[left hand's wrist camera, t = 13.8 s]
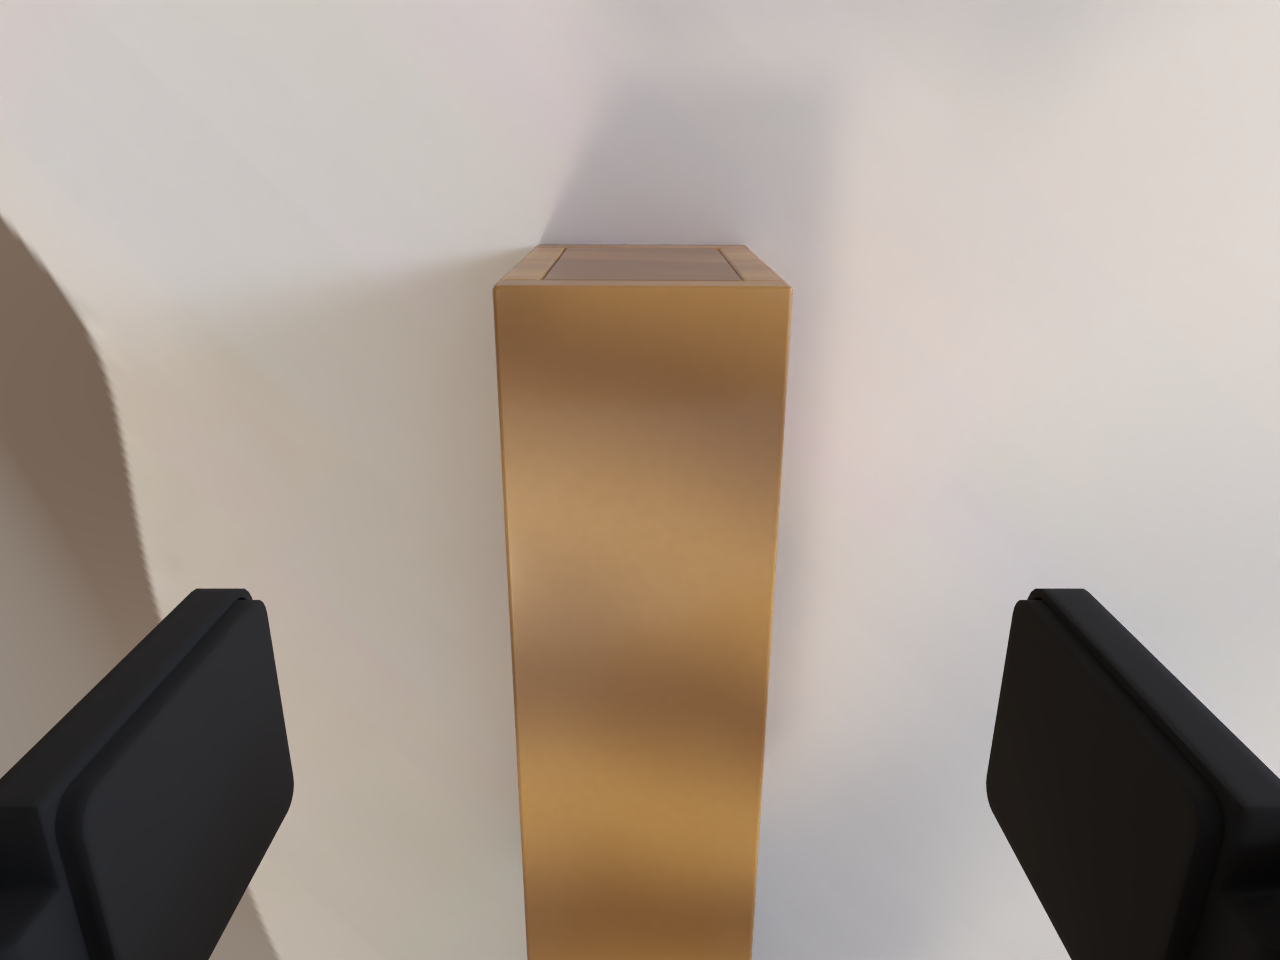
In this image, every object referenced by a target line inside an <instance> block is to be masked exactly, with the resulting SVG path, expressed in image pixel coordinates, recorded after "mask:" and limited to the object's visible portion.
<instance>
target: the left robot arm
mask: <svg viewBox="0 0 1280 960" xmlns="http://www.w3.org/2000/svg"><path fill="white" fill-rule="evenodd" d="M293 788H294V780H293V772H292V766H291V760H290V753H289V747H288V741H287V735H286V728H285V722H284V716H283V710H282V703H281V697H280V691H279V685H278V678H277V672H276V666H275V660H274V653H273V647H272V641H271V635H270V628H269V622H268V616H267V611H266V607H265V605H264V603H263V602H262V601H261V600H252V597H251V595H250V593H249V592H248V591H247V590H246V589H195V590H194V591H192V592H191V593H190V594H189V595H188V596H187V597H186V598H185V599H184V600H183V601H182V602H181V603H180V604H179V605H178V606H177V607H176V608H175V609H174V610H173V611H172V612H171V613H170V614H169V615H167V616H166V617H165V618H164V619H163V620H162V621H161V622H160V623H159V624H158V625H157V626H156V627H155V628H154V629H153V630H152V631H151V632H150V633H149V634H148V635H147V636H146V637H145V638H144V639H143V640H142V641H141V642H140V643H139V644H138V645H137V646H136V647H135V648H134V649H133V650H132V651H131V652H130V653H129V654H128V655H127V656H126V657H125V658H124V659H123V660H122V661H120V662H119V663H118V664H117V665H116V666H115V667H114V668H113V669H112V670H111V671H110V672H109V673H108V674H107V675H106V676H105V677H104V678H103V679H102V680H101V681H100V682H99V683H98V684H97V685H96V686H95V687H94V688H93V689H92V690H91V691H90V692H89V693H88V694H87V695H86V696H85V697H84V698H83V699H82V700H81V701H80V702H79V703H78V704H77V705H76V706H74V707H73V708H72V709H71V710H70V711H69V712H68V713H67V714H66V715H65V716H64V717H63V718H62V719H61V720H60V721H59V722H58V723H57V724H56V725H55V726H54V727H53V728H52V729H51V730H50V731H49V732H48V733H47V734H46V735H45V736H44V737H43V738H42V739H41V740H40V741H39V742H38V743H37V744H36V745H35V746H34V747H33V748H32V749H31V750H29V751H28V752H27V753H26V754H25V755H24V756H23V757H22V758H21V759H20V760H19V761H18V762H17V763H16V764H15V765H14V766H13V767H12V768H11V769H10V770H9V771H8V772H7V773H6V774H5V775H4V776H3V777H2V778H1V779H0V960H208V959H209V958H210V956H211V954H212V952H213V950H214V948H215V946H216V945H217V943H218V941H219V939H220V937H221V935H222V933H223V931H224V930H225V928H226V926H227V924H228V922H229V920H230V918H231V916H232V915H233V913H234V911H235V909H236V907H237V905H238V903H239V901H240V900H241V898H242V896H243V894H244V892H245V890H246V888H247V887H248V885H249V883H250V881H251V879H252V877H253V875H254V874H255V872H256V870H257V868H258V866H259V864H260V862H261V860H262V859H263V857H264V855H265V853H266V851H267V849H268V847H269V845H270V844H271V842H272V840H273V838H274V836H275V834H276V832H277V831H278V829H279V827H280V825H281V823H282V821H283V819H284V817H285V816H286V814H287V812H288V810H289V807H290V805H291V801H292V796H293ZM986 788H987V796H988V801H989V805H990V807H991V810H992V812H993V814H994V816H995V817H996V819H997V821H998V823H999V825H1000V827H1001V829H1002V831H1003V832H1004V834H1005V836H1006V838H1007V840H1008V842H1009V844H1010V845H1011V847H1012V849H1013V851H1014V853H1015V855H1016V857H1017V859H1018V860H1019V862H1020V864H1021V866H1022V868H1023V870H1024V872H1025V874H1026V875H1027V877H1028V879H1029V881H1030V883H1031V885H1032V887H1033V888H1034V890H1035V892H1036V894H1037V896H1038V898H1039V900H1040V902H1041V903H1042V905H1043V907H1044V909H1045V911H1046V913H1047V915H1048V916H1049V918H1050V920H1051V922H1052V924H1053V926H1054V928H1055V930H1056V931H1057V933H1058V935H1059V937H1060V939H1061V941H1062V943H1063V945H1064V946H1065V948H1066V950H1067V952H1068V954H1069V956H1070V958H1071V959H1072V960H1280V779H1279V778H1278V777H1277V776H1276V775H1275V774H1274V773H1273V772H1272V771H1271V770H1270V769H1269V768H1268V767H1267V766H1266V765H1265V764H1264V763H1263V762H1262V761H1261V760H1260V759H1259V758H1258V757H1257V756H1256V755H1255V754H1254V753H1253V752H1252V751H1251V750H1249V749H1248V748H1247V747H1246V746H1245V745H1244V744H1243V743H1242V742H1241V741H1240V740H1239V739H1238V738H1237V737H1236V736H1235V735H1234V734H1233V733H1232V732H1231V731H1230V730H1229V729H1228V728H1227V727H1226V726H1225V725H1224V724H1223V723H1222V722H1221V721H1220V720H1219V719H1218V718H1217V717H1216V716H1215V715H1214V714H1213V713H1212V712H1211V711H1210V710H1209V709H1208V708H1207V707H1206V706H1205V705H1203V704H1202V703H1201V702H1200V701H1199V700H1198V699H1197V698H1196V697H1195V696H1194V695H1193V694H1192V693H1191V692H1190V691H1189V690H1188V689H1187V688H1186V687H1185V686H1184V685H1183V684H1182V683H1181V682H1180V681H1179V680H1178V679H1177V678H1176V677H1175V676H1174V675H1173V674H1172V673H1171V672H1170V671H1169V670H1168V669H1167V668H1166V667H1165V666H1164V665H1163V664H1162V663H1161V662H1160V661H1159V660H1157V659H1156V658H1155V657H1154V656H1153V655H1152V654H1151V653H1150V652H1149V651H1148V650H1147V649H1146V648H1145V647H1144V646H1143V645H1142V644H1141V643H1140V642H1139V641H1138V640H1137V639H1136V638H1135V637H1134V636H1133V635H1132V634H1131V633H1130V632H1129V631H1128V630H1127V629H1126V628H1125V627H1124V626H1123V625H1122V624H1121V623H1120V622H1119V621H1118V620H1117V619H1116V618H1115V617H1114V616H1113V615H1111V614H1110V613H1109V612H1108V611H1107V610H1106V609H1105V608H1104V607H1103V606H1102V605H1101V604H1100V603H1099V602H1098V601H1097V600H1096V599H1095V598H1094V597H1093V596H1092V595H1091V594H1090V593H1089V592H1088V591H1086V590H1085V589H1034V590H1033V591H1032V592H1031V593H1030V595H1029V597H1028V600H1019V601H1018V602H1017V603H1016V605H1015V607H1014V611H1013V616H1012V622H1011V628H1010V635H1009V641H1008V647H1007V653H1006V660H1005V666H1004V672H1003V678H1002V685H1001V691H1000V697H999V703H998V710H997V716H996V722H995V728H994V735H993V741H992V747H991V753H990V760H989V766H988V772H987V780H986Z"/></svg>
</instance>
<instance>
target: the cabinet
mask: <svg viewBox="0 0 1280 960" xmlns="http://www.w3.org/2000/svg"><path fill="white" fill-rule="evenodd" d="M792 291H793V290H792V287H791V286H790V285H788V284H787V283H786V282H785V281H784V280H783V279H782V278H781V277H779V276H778V275H777V274H776V273H775V272H774V271H773V270H772V269H770V268H769V267H768V266H767V265H766V264H765V263H764V262H763V261H762V260H760V259H759V258H758V257H757V256H756V255H755V254H754V253H753V252H751V251H750V250H749V248H747V247H746V246H745V245H553V244H540V245H538V246H537V247H535V249H534V250H533V251H531V252H530V253H529V254H528V255H527V256H526V257H525V258H524V259H523V260H522V261H521V262H519V263H518V264H517V265H516V266H515V267H514V268H513V269H512V270H511V271H510V272H509V273H507V274H506V275H505V276H504V277H503V278H502V279H501V280H500V281H499V282H498V283H497V284H496V285H494V287H493V304H494V324H495V343H496V362H497V381H498V401H499V420H500V439H501V458H502V478H503V497H504V516H505V535H506V555H507V574H508V593H509V612H510V631H511V651H512V670H513V689H514V708H515V728H516V747H517V766H518V785H519V805H520V824H521V843H522V862H523V882H524V901H525V920H526V939H527V958H528V960H751V957H752V941H753V925H754V909H755V893H756V876H757V860H758V844H759V828H760V811H761V795H762V779H763V763H764V746H765V730H766V714H767V698H768V681H769V665H770V649H771V633H772V616H773V600H774V584H775V568H776V551H777V535H778V519H779V503H780V486H781V470H782V454H783V438H784V421H785V405H786V389H787V373H788V356H789V340H790V324H791V308H792Z"/></svg>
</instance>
